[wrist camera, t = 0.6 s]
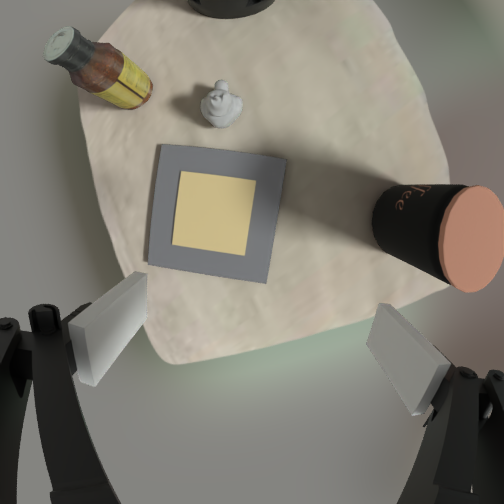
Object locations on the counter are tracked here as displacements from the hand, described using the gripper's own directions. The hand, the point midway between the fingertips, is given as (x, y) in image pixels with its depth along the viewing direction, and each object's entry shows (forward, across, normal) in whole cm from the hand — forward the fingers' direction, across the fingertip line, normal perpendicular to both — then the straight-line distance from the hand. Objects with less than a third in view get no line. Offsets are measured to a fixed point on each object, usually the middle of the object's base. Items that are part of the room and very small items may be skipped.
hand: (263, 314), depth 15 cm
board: (+24, -6, +3) cm, 25 cm away
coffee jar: (+25, +21, +6) cm, 33 cm away
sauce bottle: (+25, -21, +19) cm, 38 cm away
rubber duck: (+25, -7, +17) cm, 31 cm away
